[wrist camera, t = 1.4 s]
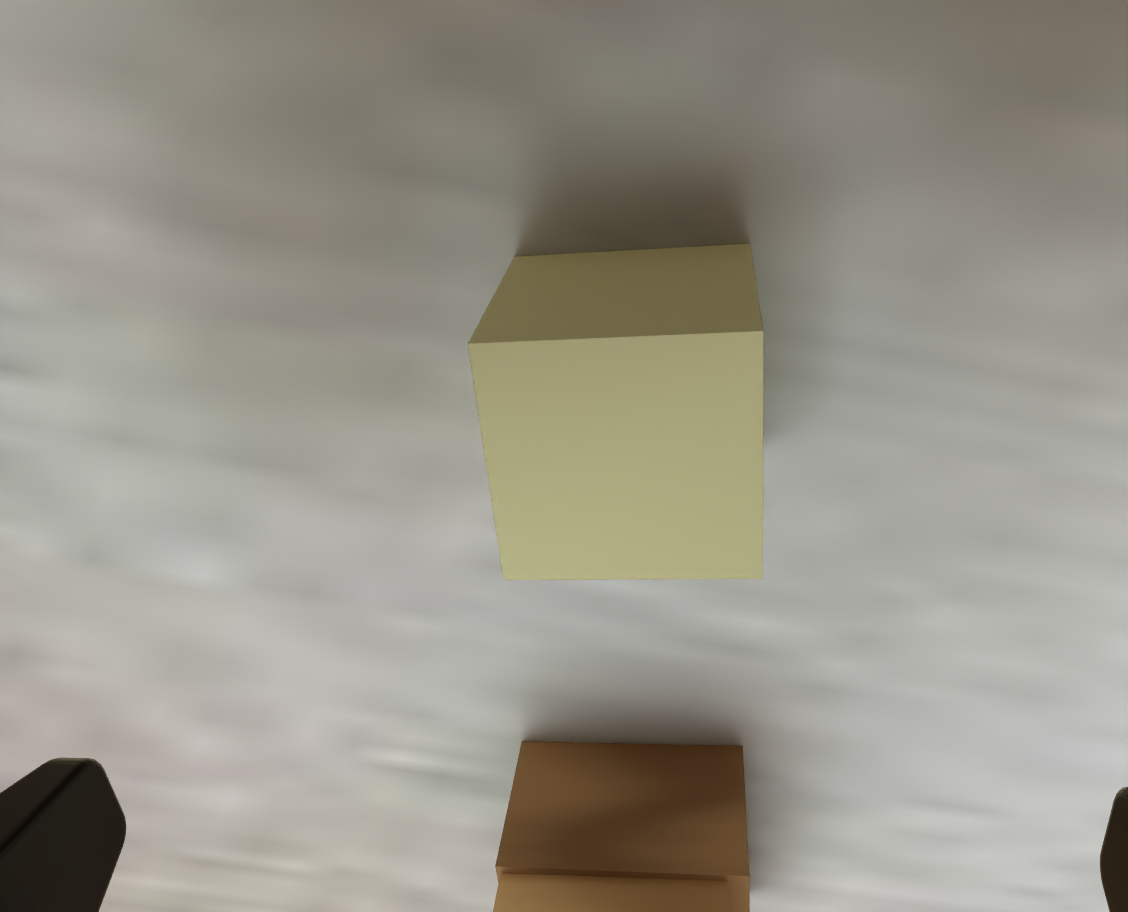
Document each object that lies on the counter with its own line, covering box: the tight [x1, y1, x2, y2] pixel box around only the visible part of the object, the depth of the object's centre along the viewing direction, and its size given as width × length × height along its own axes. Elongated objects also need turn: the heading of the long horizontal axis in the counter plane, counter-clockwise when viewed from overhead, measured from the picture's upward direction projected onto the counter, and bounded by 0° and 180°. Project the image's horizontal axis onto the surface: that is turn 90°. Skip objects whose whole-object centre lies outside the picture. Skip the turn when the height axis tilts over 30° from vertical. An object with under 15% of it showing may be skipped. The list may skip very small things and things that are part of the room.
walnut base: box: [495, 741, 750, 912], centre depth 22 cm, size 5×5×4 cm
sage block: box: [468, 243, 763, 580], centre depth 16 cm, size 4×4×4 cm
